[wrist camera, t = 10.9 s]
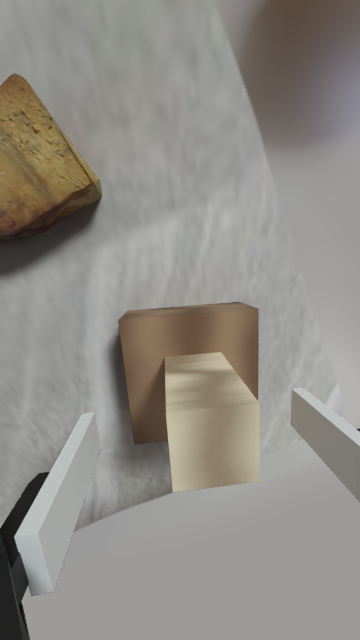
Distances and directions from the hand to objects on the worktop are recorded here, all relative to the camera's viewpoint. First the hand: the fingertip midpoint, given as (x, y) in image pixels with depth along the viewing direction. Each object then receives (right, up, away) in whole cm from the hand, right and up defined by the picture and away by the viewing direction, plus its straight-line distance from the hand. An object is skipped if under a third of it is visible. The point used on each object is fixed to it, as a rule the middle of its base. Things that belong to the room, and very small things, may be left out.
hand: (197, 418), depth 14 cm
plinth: (0, +2, +10) cm, 10 cm away
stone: (-16, +19, +6) cm, 26 cm away
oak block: (0, +1, +5) cm, 5 cm away
